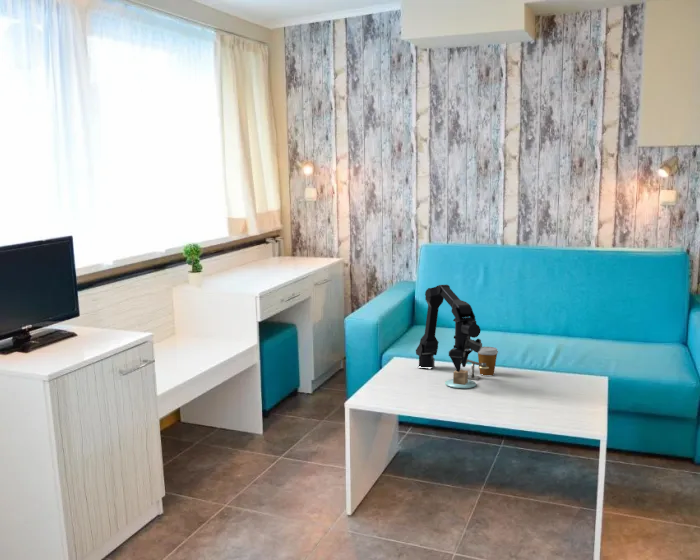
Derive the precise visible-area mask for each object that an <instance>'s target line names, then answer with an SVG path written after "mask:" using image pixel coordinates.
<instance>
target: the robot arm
mask: <svg viewBox="0 0 700 560" xmlns="http://www.w3.org/2000/svg"><path fill="white" fill-rule="evenodd" d="M424 295H425V297H424V298H425V302H426V303H427V312H426V321H425V328H424V334H423V335H422V337H421V338H420V341H419V344H418V346H417V347H416V349H415V354H416V356H418V367H419V366H421V367H433V368H435V362H436V361H435V359H436V358H435V357H434V356H437V354H438V350H439V341H438V339H437V338H436V331H437V323H438V316H439V308H440V307H441V305H443V302H444V300H445V301H446V303H447V304H448V305H449V307H451V311H450V312H451V313H452V315H453V316H454V319H453V320H452V321H453V322H454V325H455V326H454V335H453V339H454V344H453V348H451V349H450V350H449V351H448V357H449V358H450V359H451V362H452V364H453V366H454V368H455V371H457V372H460V370H461V367H463V368H466V365H467V363H468V362H467V359H468V358H469V355H471V353H472V352H473V351H474V353H477V354H478V352H479V351H480V349H481V347H483V343H482V340H481V338H478V337H479V335H480V334H481V327H480V326H479V325H478V324H477V321H476V316H475V313H474V311H473V308H472V305H470V303H468V302H467V301H464V300H462V299H460V298H459V296H458V295H457V294H456V293H455V292H454V291H453V289H451V287H450V285H449V284H438V285H436V286H435V287H429V288H426V290H425V292H424ZM472 338H473V339H472ZM474 338H477V339H474ZM468 360H469V359H468ZM466 362H467V363H466Z"/></svg>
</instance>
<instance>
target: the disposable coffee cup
mask: <svg viewBox="0 0 700 560" xmlns="http://www.w3.org/2000/svg"><path fill="white" fill-rule="evenodd" d="M498 354H499V350H498V348H497V347H493V346H482V347H481V349H480V351H479V352H478V353H477V357H478V363H481V364H482V363H486V366H488V367H489V368H488V369H480V368H479V366H480V365H478V369H479V375H480V374H483V375H492V376H494V375H495V369H496V363H497V358H498V357H497V356H498ZM493 374H494V375H493ZM483 375H482V376H483Z"/></svg>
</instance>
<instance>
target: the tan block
mask: <svg viewBox="0 0 700 560" xmlns="http://www.w3.org/2000/svg"><path fill="white" fill-rule="evenodd" d="M452 375H453V376H452V379H453V384H461V385H465V384H466V383H467V382H468V380H469V379H468V375H469V370H466V369H465V370H463V369H460V372H457V371H456V370H454V371H453V374H452Z"/></svg>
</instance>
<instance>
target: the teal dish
mask: <svg viewBox="0 0 700 560" xmlns="http://www.w3.org/2000/svg"><path fill="white" fill-rule="evenodd" d="M445 386H448V387H450V388H454V389H470V388H474V387H476V386H477V383H476V382H475V380H469V379H468V382H467V383H466V384H465V385H461V384H453V378H452V379H447V380H445Z"/></svg>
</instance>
